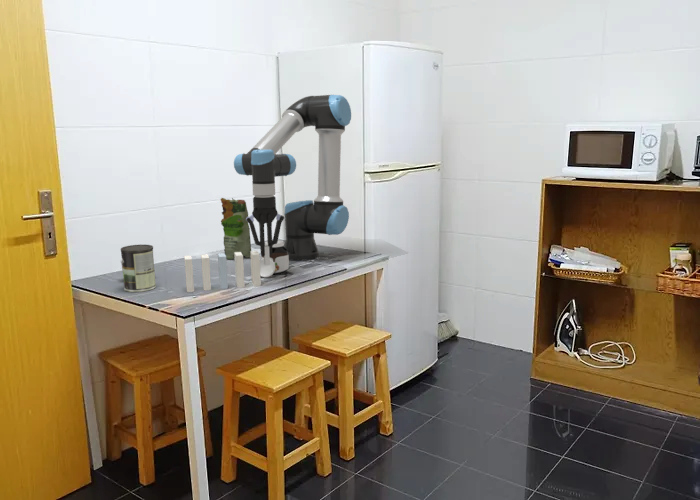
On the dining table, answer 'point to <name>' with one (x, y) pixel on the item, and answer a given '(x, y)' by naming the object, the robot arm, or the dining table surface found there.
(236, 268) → the domino
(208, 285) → the domino
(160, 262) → the dining table surface
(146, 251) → the coffee can
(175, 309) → the dining table surface
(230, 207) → the pouch
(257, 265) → the domino
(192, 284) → the domino
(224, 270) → the domino
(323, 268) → the dining table surface
